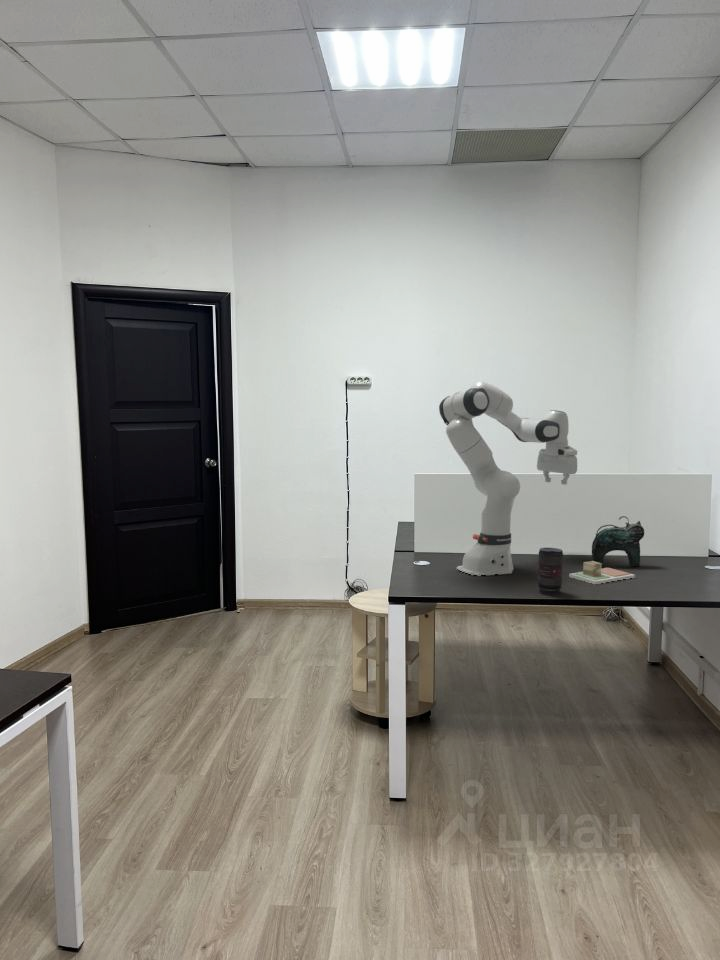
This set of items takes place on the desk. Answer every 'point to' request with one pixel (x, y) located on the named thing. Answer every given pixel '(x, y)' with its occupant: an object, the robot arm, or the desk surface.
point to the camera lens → (550, 570)
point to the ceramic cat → (619, 542)
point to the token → (592, 568)
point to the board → (603, 576)
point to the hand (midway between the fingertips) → (555, 483)
